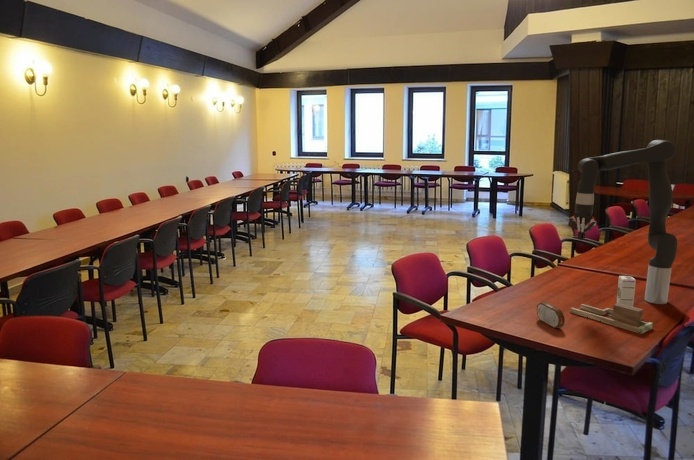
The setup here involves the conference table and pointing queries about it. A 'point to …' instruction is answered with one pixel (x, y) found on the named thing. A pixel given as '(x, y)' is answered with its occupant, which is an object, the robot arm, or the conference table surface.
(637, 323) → the block
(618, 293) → the syrup box
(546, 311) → the tin
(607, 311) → the lane
